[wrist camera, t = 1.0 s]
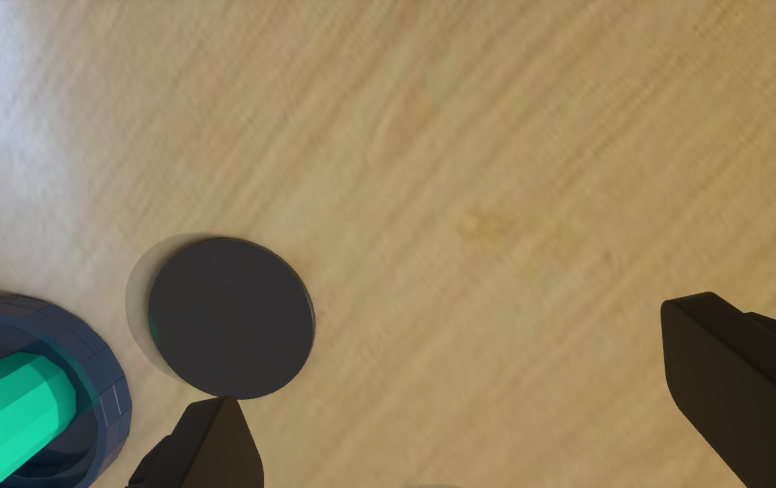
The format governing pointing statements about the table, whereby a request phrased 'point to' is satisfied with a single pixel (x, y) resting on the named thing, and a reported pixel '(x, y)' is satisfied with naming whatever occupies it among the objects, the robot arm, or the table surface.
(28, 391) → the candle
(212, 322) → the coaster
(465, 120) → the table surface
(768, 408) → the robot arm
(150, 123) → the table surface
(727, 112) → the table surface
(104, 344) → the dish
